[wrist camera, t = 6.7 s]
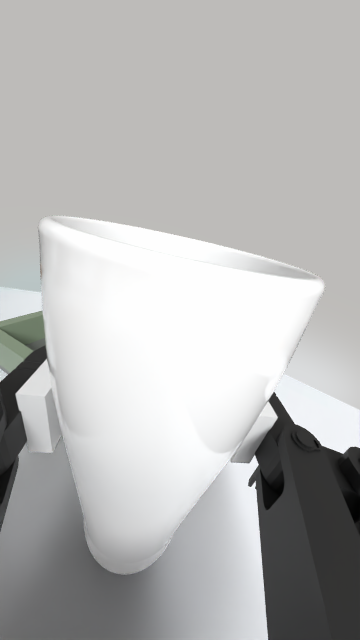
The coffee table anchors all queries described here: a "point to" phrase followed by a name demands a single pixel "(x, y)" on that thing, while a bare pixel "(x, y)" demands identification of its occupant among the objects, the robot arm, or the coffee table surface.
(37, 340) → the tray
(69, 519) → the coffee table surface
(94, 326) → the drinking glass
